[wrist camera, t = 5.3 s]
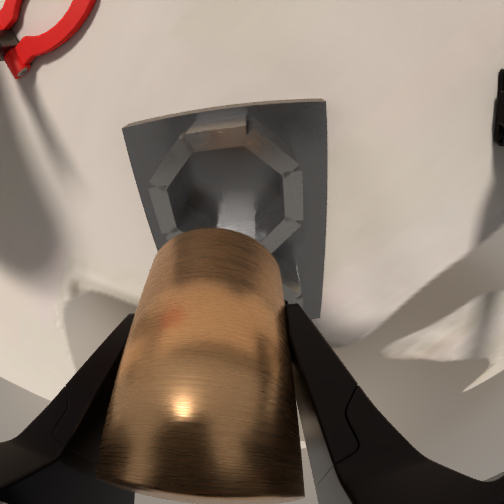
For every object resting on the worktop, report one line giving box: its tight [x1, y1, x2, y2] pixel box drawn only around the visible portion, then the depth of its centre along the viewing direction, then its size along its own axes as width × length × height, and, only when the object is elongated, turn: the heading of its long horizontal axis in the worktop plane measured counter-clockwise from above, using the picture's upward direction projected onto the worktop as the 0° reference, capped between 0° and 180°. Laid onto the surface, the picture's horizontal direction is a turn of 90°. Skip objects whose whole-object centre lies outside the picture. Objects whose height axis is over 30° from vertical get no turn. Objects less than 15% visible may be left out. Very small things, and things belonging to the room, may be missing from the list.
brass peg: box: [95, 228, 305, 504], centre depth 7 cm, size 4×4×7 cm
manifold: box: [122, 99, 327, 319], centre depth 18 cm, size 18×12×8 cm, turn 6°
